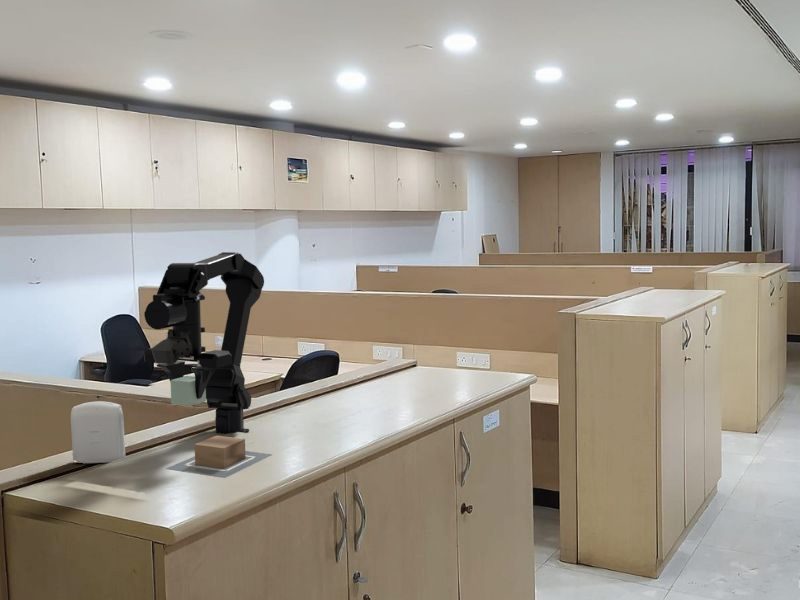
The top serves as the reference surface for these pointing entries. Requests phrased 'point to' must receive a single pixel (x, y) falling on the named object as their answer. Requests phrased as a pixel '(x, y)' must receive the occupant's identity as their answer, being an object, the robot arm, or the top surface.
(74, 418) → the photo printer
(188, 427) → the top surface
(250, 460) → the board
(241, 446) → the walnut block
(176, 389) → the sage cube
